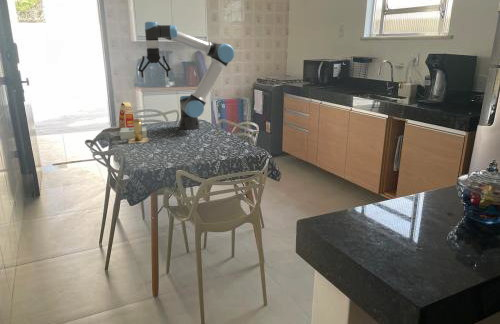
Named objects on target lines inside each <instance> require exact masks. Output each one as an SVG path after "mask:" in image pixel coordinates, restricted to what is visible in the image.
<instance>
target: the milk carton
mask: <svg viewBox="0 0 500 324" xmlns="http://www.w3.org/2000/svg"><path fill="white" fill-rule="evenodd" d="M121 102H122V103H121V104H120V108H119V118H118V129H119V128H120V129H119V130H121V128H132V127H134V126H133V119H136V118H135V114H134V110H133V107H132V104H131V101H124V100H123V101H121Z"/></svg>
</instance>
